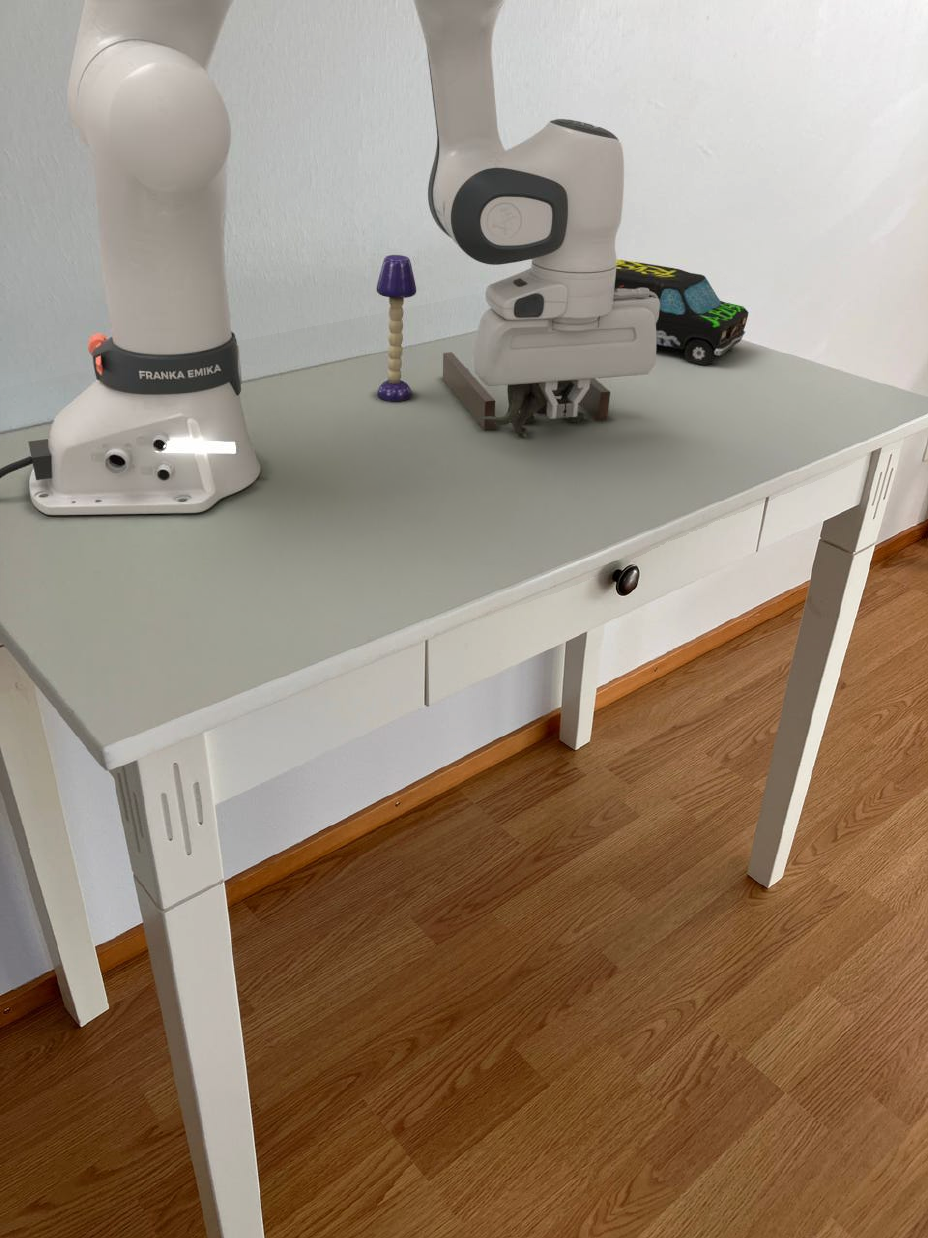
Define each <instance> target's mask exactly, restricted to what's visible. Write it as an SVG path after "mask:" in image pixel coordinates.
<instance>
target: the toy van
mask: <svg viewBox="0 0 928 1238" xmlns="http://www.w3.org/2000/svg"><path fill="white" fill-rule="evenodd" d="M636 288H648V289H649V290H650V291H651V292H653V293H655V294H656V295H657V296H658V298H659V301H660V309H659V317H658V320H657V323H656V345H657V346H663V347H668V348H673V349H678V350H679V349H680V350H684V358H685V360H686V362H689V363H693V364H697V365H702V366H708V365H709V364H711V363H712V362H713V359H714V358H715V356H722V355H723V354H725V353H726V352H727V351H728V350H732V349H733V348H734V347H736V345H737V344H739V343H740V342H741V340H742V339H743V337H744V335H745V334H746V331H745V328H746V324H747V321H748V317H749V313H750V312H749V311H748V310H747V309H746V308H745V307H744V306H743V305H738V304H734V303H731V302H725V301H722V300H721V299H720V298H719V297H718V295H717V293H716V292H715V290H714V289H713V287H712V285H711V284H710V282H709V280H708V279H707V277H706V276H705V275H704V274H700V273H694V272H690V271H686V270H683V269H680V268H675V267H669V266H663V265H659V264H651V263H645V262H640V261H632V260H623V259H618V258H617V266H616V277H615V287H614V289H636ZM649 297H652V296H650V295H649Z"/></svg>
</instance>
